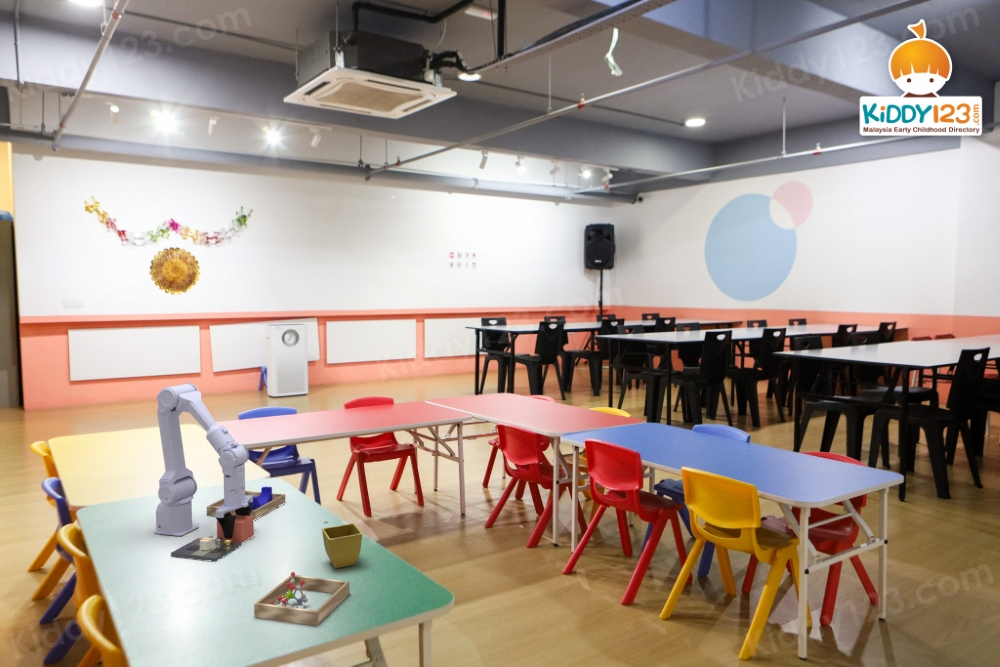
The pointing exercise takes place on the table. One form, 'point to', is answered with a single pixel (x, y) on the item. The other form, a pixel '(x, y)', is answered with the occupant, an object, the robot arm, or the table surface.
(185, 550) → the panel
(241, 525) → the cap
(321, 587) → the wooden frame right
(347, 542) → the flower pot
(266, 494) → the blue curved cradle block
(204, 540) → the block
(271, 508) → the wooden frame left
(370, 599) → the table surface
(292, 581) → the molecular model
